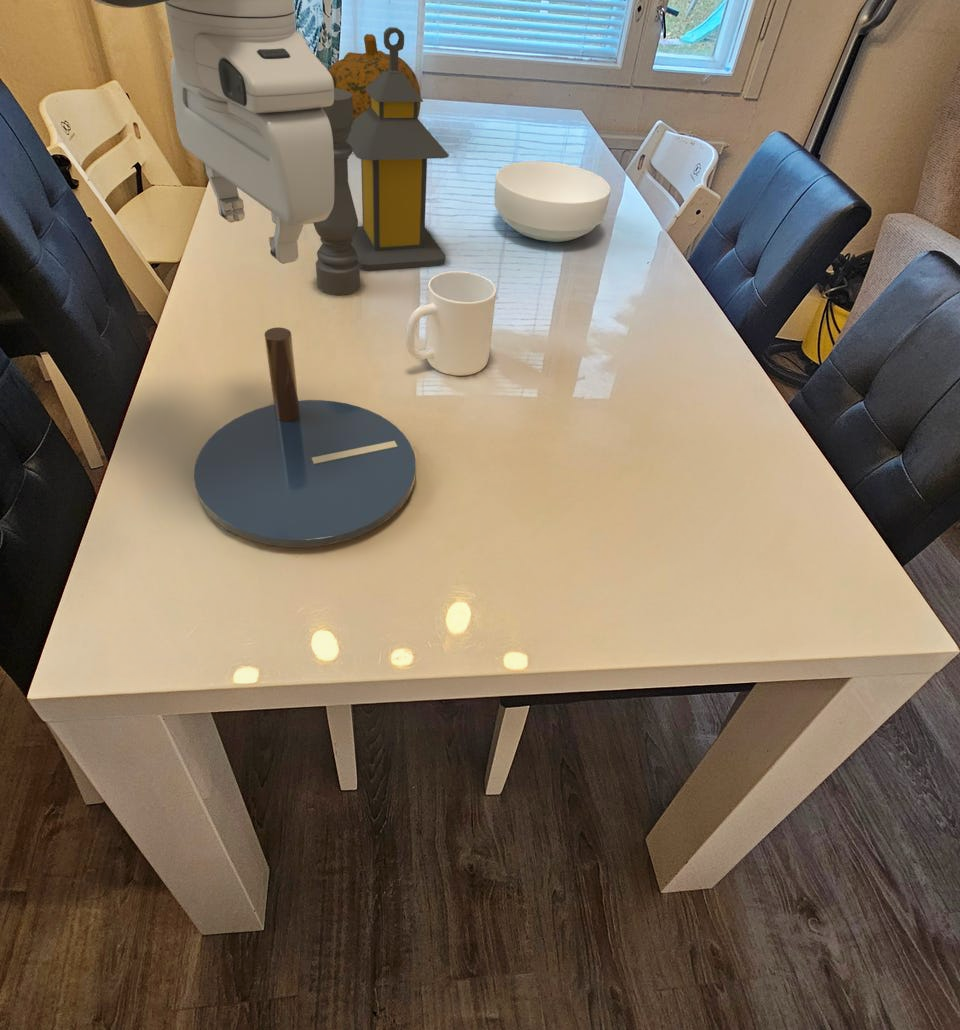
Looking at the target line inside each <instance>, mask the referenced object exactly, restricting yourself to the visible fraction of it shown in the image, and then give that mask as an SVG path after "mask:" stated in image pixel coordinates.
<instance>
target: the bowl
mask: <svg viewBox="0 0 960 1030" xmlns="http://www.w3.org/2000/svg"><path fill="white" fill-rule="evenodd" d="M494 181H495V182H494V183H495V184H494V197H493V198H494V201H493V204H494V207H495V209H496V210H497V211H498V212H499V214H500V216H501V218H502V220H503V221H504V222H505V223H506V224H507V225H508V226H509V227H511V229H513V230H515V232H517V233H518V234H521V235H522V236H525V237H527V238H530V239H534V240H538V241H543V242H552V243H553V242H554V243H558V242H559V243H560V242H561V243H562V242H568V241H569V242H570V241H572V240H575V239H578V238H580V237H582V236H585V235H586V234H589V233H590V232H592V231H593V230H594V228H595V227H596V226H598V225H599V224H601V223H602V222H603V220H604V218H605V215H606V212H607V208H608V206H609V205H608V204H609V200H610V196H611V192H612V191H611V185H610V184H609V182H608V181H607V180H605V179H604V178H603V177H602V176H600V175H598V174H597V173H595V172H592V171H590V170H587V169H584V168H581V167H578V166H575V165H571V164H566V163H562V162H555V161H541V160H527V161H518V162H514V163H513V162H512V163H510V164H506V165H503V166H502V167H500V168H499V169H498V170H497V172H496V174H495V180H494Z"/></svg>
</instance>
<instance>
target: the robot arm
mask: <svg viewBox="0 0 960 1030" xmlns="http://www.w3.org/2000/svg"><path fill="white" fill-rule="evenodd" d="M89 1H91V2H93V3H96V4H99V5H103V6H106V7H111V8H117V9H135V8H142V7H148V6H152V5H157V4H160V3H164V6H165V11H166V17H167V18H166V19H167V23H168V29H169V35H170V36H169V37H170V42H171V48H172V53H173V58H172V60H171V62H170V84H171V93H172V94H171V95H172V104H173V110H174V117H175V126H176V131H177V135H178V138H179V140H180V143H181V145H182V147H183V149H184V150H185V151H186V152H187V153H189V154H190V155H192V156H193V157H194V158H196V159H197V160H199V161H200V162H201V163H203V165H205V173H206V176H207V178H208V181H209V183H210V185H211V188H212V190H213V194H214V195H215V197H216V202H217V208H218V214H219V216H220V217H222V218H223V219H224V220H226V221H227V222H228V223H235V222H241V221H243V220H244V219H245V216H246V213H245V209H244V208H245V205H244V199H242V198H241V197H240V195H239V192H238V189H239V190H240V191H242V192H243V193H244V194H245V195H247V196H248V197H250V198H251V199H253V200H254V201H255V202H257V203H258V204H259V205H261V206H262V207H264V208H265V209H267V210H268V211H269V212H270V214H271V221H272V223H274V224H275V228H274V235H273V236H269V237H268V242H269V247H270V251H269V252H270V255H271V256H272V257H273V258H274V259H275V260H277V261H278V262H279V263H280V264H282V265H284V264H285V265H286V264H289V263H293V262H294V263H295V262H296V261H297V260H298V259H299V245H298V241H299V238H300V237H301V233H302V231H303V227H304V225H311V224H313V223H315V222H320V221H324V220H326V219H327V218H328V217H329V215H330V213H331V211H332V209H333V205H334V149H333V136H332V130H331V125H330V122H329V119H328V117H327V115H326V113H325V111H324V110H323V109H322V107H328V106H332V105H333V102H334V83H333V78H332V76H331V74H330V72H329V71H328V70H329V69H327V67H326V66H325V65H324V64H323V63H322V62H321V61H320V59H319V58H318V57H317V56H316V55H315V53H314V52H313V51H312V49H311V48H310V46H309V44H308V43H307V42H306V40H305V38H304V35H303V34H302V33H301V32H300V31H299V30H297V23H296V22H297V21H296V7H295V6H296V5H295V1H294V0H89Z"/></svg>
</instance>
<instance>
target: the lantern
mask: <svg viewBox="0 0 960 1030" xmlns="http://www.w3.org/2000/svg"><path fill="white" fill-rule="evenodd" d="M393 34H397V37H398V39H397V42H396V43H395V44H391V40H390V38H391V35H393ZM383 45H384V48H385V49H386V50H389V54H390V69H386V70H384V71H383V72H382V73H381V74H380V75H379V76H378V77H377V78H376V79H375V80H374V81H373V82H371V83H370V84H369V85H368V86H367V87H366V88H365V90H366V91H367V92H368V93H369V95H370V96H371V107H370V108H368V109H367V110H366V111H365V112H363V113H362V114H361V115H360V116H358V117H357V118H356V119H355V120H353V124H352V126H351V132H350V133H349V136H348V139H347V143H349V144H350V145H351V147H352V154H354V156H355V157H356V158H357V159H359V160H360V162H361V163H360V165H361V166H360V167H361V203H362V205H361V206H362V207H361V208H362V209H361V210H362V226H358V227H357V230H356V232H355V234H354V236H353V237H352V240H353V241H352V242H351V245H352V246H353V248H354V249H355V250H356V252H357V255H358V256H357V258H356V260H358V262H359V265H360V270H362V271H365V272H366V271H368V272H371V271H385V270H386V271H387V270H397V269H398V270H399V269H412V268H414V269H415V268H425V267H441V266H443V265H445V263H446V254H445V253H444V251H443V250H442V248H441V247H440V246H439V245H438V243H437V242H436V239H434V237H433V236H432V234H431V233H430V231H429V230H428V229H427V228H426V206H427V205H426V202H427V200H426V199H427V175H428V174H427V172H428V160H430V159H448V158H449V156H450V154H449V153H448V152H447V151H446V150H445V148H444V147H443V146H442V145H441V143H439V142H438V140H437V139H436V138H435V137H434V135H433V134H431V132H430V130H428V129H427V128H426V127H425V125H424V124H423V123H422V122H421V121H420V120H419V117H418V118H417V102H421V103H423V102H424V100H423V98H422V97H420V96H419V95H418V93H417V92H416V91H415V89H414V88H413V87H412V85H411V84H410V83H409V81H408V80H407V79H406V77H405V76H404V75H403V73H402V72H401V71H400V70H398V57H399V52H400V51H402V50H403V49H404V47H405V34H404V32H403V31H402V30H401V29H399V28H398V27H393V26H391V27H390V26H389V27H387V28H386V29H385V30H384V32H383Z"/></svg>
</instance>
